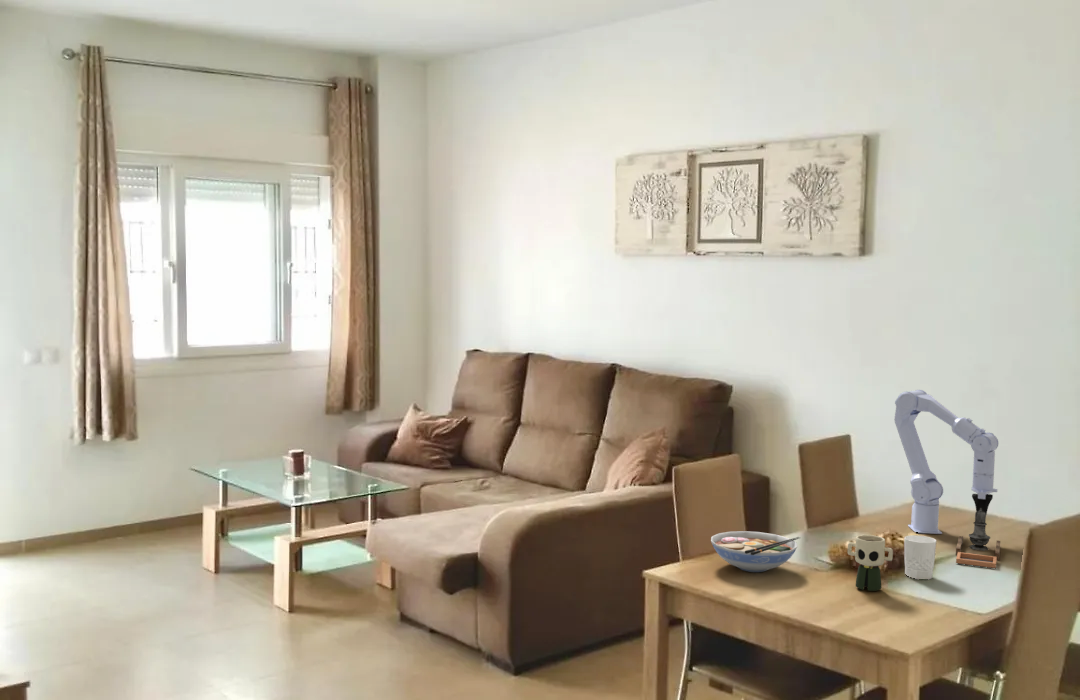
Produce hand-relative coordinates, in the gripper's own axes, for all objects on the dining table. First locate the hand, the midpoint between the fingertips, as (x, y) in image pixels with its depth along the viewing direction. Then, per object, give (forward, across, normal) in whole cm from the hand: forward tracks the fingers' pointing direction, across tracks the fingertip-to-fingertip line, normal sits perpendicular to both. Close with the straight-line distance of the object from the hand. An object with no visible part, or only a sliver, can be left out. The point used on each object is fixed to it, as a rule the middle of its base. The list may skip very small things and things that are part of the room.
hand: (981, 518), depth 306 cm
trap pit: (+7, -26, 0) cm, 27 cm away
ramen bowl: (+7, -63, +54) cm, 83 cm away
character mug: (+7, -67, +24) cm, 71 cm away
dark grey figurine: (+7, -8, 0) cm, 11 cm away
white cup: (+7, -48, +13) cm, 51 cm away
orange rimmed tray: (+7, -12, 0) cm, 14 cm away
